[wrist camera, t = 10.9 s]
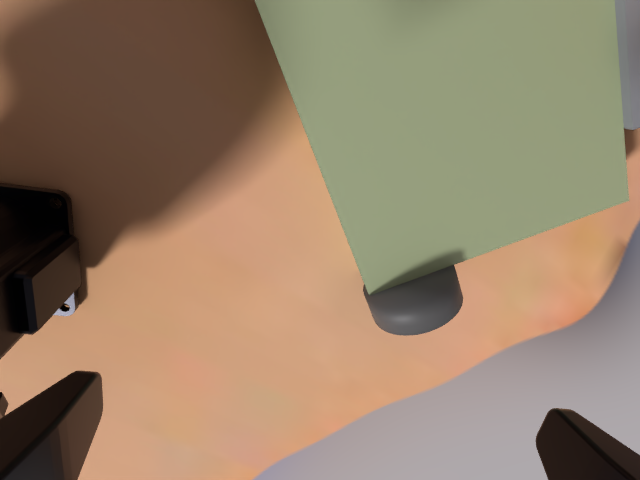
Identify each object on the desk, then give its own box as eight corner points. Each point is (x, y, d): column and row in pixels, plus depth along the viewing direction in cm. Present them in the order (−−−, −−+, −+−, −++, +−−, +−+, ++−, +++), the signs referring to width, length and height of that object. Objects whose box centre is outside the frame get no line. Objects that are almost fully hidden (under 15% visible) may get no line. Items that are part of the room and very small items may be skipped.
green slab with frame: (366, 296, 22) (383, 347, 18) (200, -126, 15) (169, -196, 11) (774, 147, 21) (891, 167, 17) (818, -413, 13) (1049, -620, 9)
